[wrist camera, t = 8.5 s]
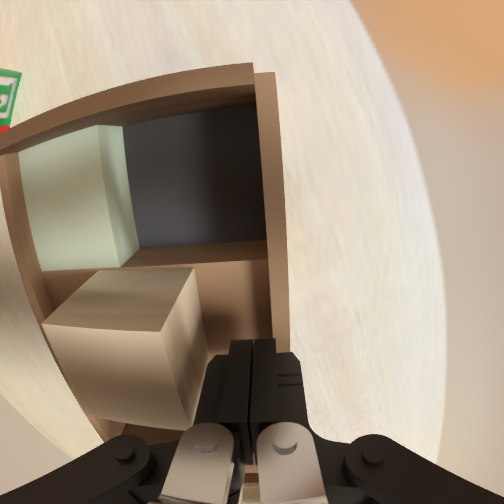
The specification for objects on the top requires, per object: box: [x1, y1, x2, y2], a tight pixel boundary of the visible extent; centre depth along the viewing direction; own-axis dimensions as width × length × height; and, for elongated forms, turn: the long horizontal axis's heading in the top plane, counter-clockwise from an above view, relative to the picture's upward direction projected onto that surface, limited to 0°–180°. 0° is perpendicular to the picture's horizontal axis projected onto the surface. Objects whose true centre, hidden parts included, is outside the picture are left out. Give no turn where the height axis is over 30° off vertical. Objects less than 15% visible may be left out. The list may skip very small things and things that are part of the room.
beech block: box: [42, 267, 209, 431], centre depth 9 cm, size 4×4×4 cm
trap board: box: [0, 63, 290, 486], centre depth 12 cm, size 21×11×4 cm, turn 5°
